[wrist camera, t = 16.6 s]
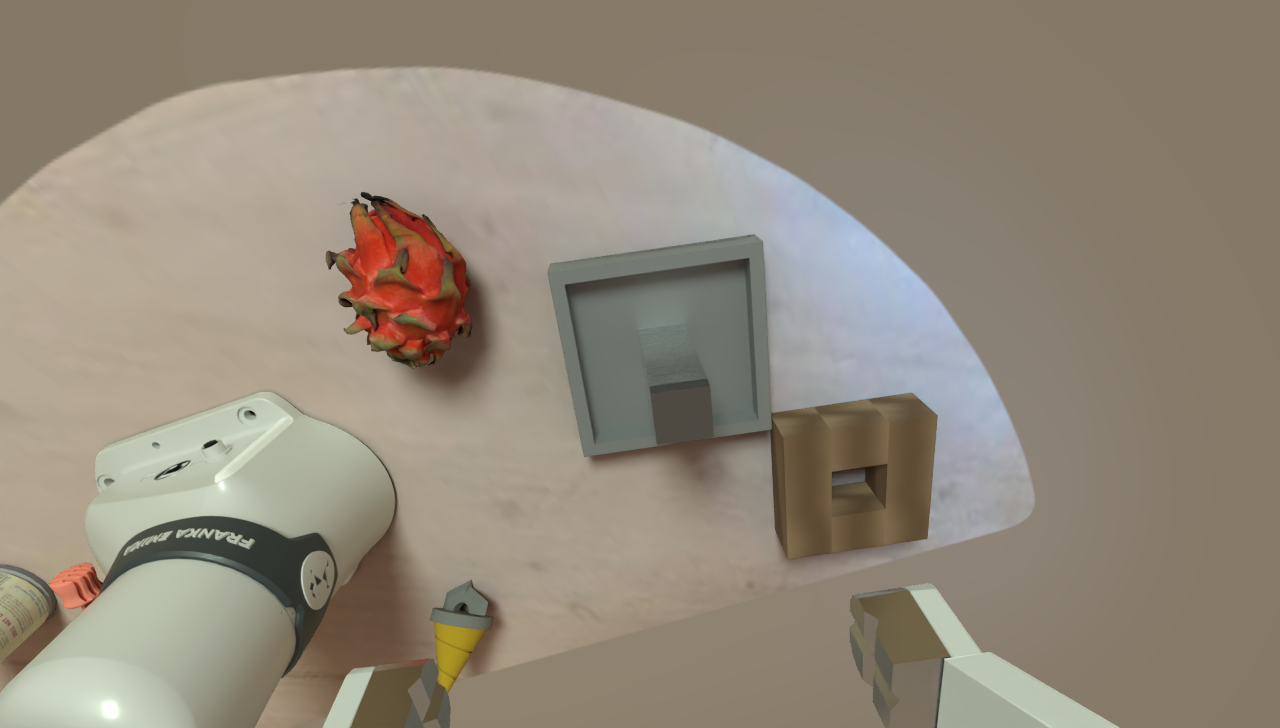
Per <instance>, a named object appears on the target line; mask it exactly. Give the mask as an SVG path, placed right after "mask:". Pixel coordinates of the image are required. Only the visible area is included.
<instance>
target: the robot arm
mask: <svg viewBox="0 0 1280 728" xmlns="http://www.w3.org/2000/svg"><path fill="white" fill-rule="evenodd" d="M249 410H251V411H253V412H254V413H255V414H256V416H254V415H252V414H251V413H250V412H249ZM95 480H96V485H97V489H98V492H99V495H98V496H97V497H96V498H95V499H94V500H93V501H92V502H91V503H90V505H89V506H88V508H87V511H86V514H85V521H84V526H85V533H86V537H87V541H88V543H89V546H90V549H91V551H92V553H93V555H94V557H95V559H96V561H97V562H98V564H99V566H100V568H101V569H102V571H103V572H104V574H105V575H106V578H105V580H104V582H103V583H102V582H100V581H99V580H98V578H97V575H96V571H95V569H94V567H93V566H92V564H90V563H83V564H78V565H75V566H73V567H70V568H69V569H67V570H64V571H62V572H61V573H60V574H59V575H57V576H55V577H54V578H53V579H54V580H51V582H50V584H51V585H49V586H50V588H51V589H52V590H53V591H54V592H55V593H56V594H57V595H58V596H60V597H61V599H62V600H63V606H64V607H65V608H68V609H73V608H78V607H80V606H81V607H82V609H83V610H84V611H83V612H82V613H81V614H79V615H78V616H77V617H76V618H75V619H74V620H73V621H72V622H71V623H70V624H69V625H68V626H67V627H66V628H65V629H64V630H63V631H62V632H61V633H60V634H59V635H58V636H57V637H56V638H55V639H54V640H53V641H52V642H51V643H50V644H48V645H47V646H46V647H45V648H44V649H43V650H42V651H41V652H40V653H39V654H38V655H37V656H36V657H35V658H34V659H33V660H32V661H31V662H30V663H29V664H28V665H27V666H26V667H25V668H24V669H23V670H22V671H21V672H19V673H18V674H17V675H16V676H15V677H14V678H13V679H12V680H11V681H10V682H9V683H8V684H7V685H6V686H5V688H4V689H3V690H2V691H1V693H0V728H255V726H256V724H257V722H258V720H259V718H260V716H261V714H262V712H263V710H264V708H265V707H266V705H267V703H268V701H269V699H270V697H271V695H272V693H273V692H274V690H275V688H276V686H277V684H278V683H279V681H280V679H281V678H282V677H284V676H285V675H286V674H287V673H288V672H290V671H291V669H292V668H293V667H294V666H295V665H296V663H297V662H298V660H299V658H300V657H301V655H302V654H303V652H304V651H305V649H306V647H307V645H308V643H309V642H310V640H311V638H312V637H313V635H314V633H315V631H316V630H317V628H318V626H319V624H320V622H321V620H322V618H323V616H324V614H325V611H326V609H327V606H328V604H329V602H330V600H331V599H332V598H333V596H334V595H335V594H336V592H337V591H338V589H339V588H340V587H341V586H343V585H345V584H347V583H348V582H349V580H350V579H351V578H352V576H353V575H354V573H355V572H356V570H357V567H358V565H359V562H360V560H361V559H362V558H363V557H364V556H365V555H366V553H367V552H368V551H369V550H370V549H371V548H372V547H373V546H374V545H375V544H376V543H377V542H378V541H379V540H380V539H381V538H382V537H383V535H384V534H385V533H386V531H387V530H388V528H389V526H390V524H391V522H392V519H393V515H394V510H395V495H394V489H393V486H392V482H391V480H390V477H389V475H388V473H387V471H386V469H385V468H384V466H383V465H382V463H381V462H380V460H379V459H378V458H377V457H376V456H375V455H374V453H373V452H372V451H371V450H370V449H369V448H367V447H366V446H365V445H364V444H363V443H362V442H360V441H359V440H358V439H356V438H355V437H353V436H352V435H350V434H348V433H346V432H345V431H343V430H341V429H339V428H337V427H334V426H332V425H329V424H327V423H324V422H321V421H318V420H315V419H313V418H310V417H308V416H306V415H304V414H302V413H301V412H300V411H299V410H297V409H296V408H295V407H294V406H292V405H291V404H290V403H288V402H287V401H286V400H284V399H283V398H281V397H279V396H278V395H276V394H273V393H270V392H260V393H256V394H253V395H251V396H248V397H245V398H242V399H239V400H236V401H233V402H230V403H227V404H225V405H222V406H219V407H216V408H213V409H210V410H207V411H204V412H202V413H199V414H196V415H193V416H190V417H187V418H184V419H181V420H179V421H176V422H173V423H170V424H167V425H164V426H161V427H158V428H155V429H153V430H150V431H147V432H144V433H141V434H138V435H135V436H132V437H130V438H127V439H124V440H121V441H118V442H115V443H113V444H110V445H108V446H106V447H105V448H104V449H103V450H102V451H100V452H99V453H98V455H97V457H96V462H95ZM850 611H851V613H852V615H853V617H854V619H855V622H854V623H853V624H852V625H851V626H850V643H851V647H852V653H853V657H854V660H855V662H856V665H857V668H858V670H859V672H860V675H861V677H862V679H863V680H864V681H865V682H867V683H868V684H870V685H871V686H872V687H873V703H874V705H875V707H876V709H877V711H878V713H879V716H880V718H881V720H882V722H883V724H884V726H885V728H1119V727H1117V726H1116V725H1114V724H1112V723H1111V722H1109V721H1107V720H1105V719H1104V718H1102V717H1100V716H1099V715H1097V714H1095V713H1093V712H1091V711H1090V710H1088V709H1087V708H1085V707H1083V706H1082V705H1080V704H1078V703H1077V702H1075V701H1073V700H1071V699H1070V698H1068V697H1066V696H1065V695H1063V694H1061V693H1059V692H1057V691H1056V690H1054V689H1053V688H1051V687H1049V686H1048V685H1046V684H1044V683H1042V682H1041V681H1039V680H1037V679H1036V678H1034V677H1032V676H1030V675H1029V674H1027V673H1025V672H1024V671H1022V670H1020V669H1019V668H1017V667H1015V666H1013V665H1012V664H1010V663H1008V662H1007V661H1005V660H1003V659H1001V658H1000V657H998V656H996V655H995V654H993V653H991V652H986V653H982V652H981V650H980V649H979V648H978V646H977V645H976V643H975V642H974V641H973V639H972V638H971V637H970V635H969V634H968V632H967V631H966V629H965V628H964V627H963V625H962V624H961V623H960V621H959V620H958V618H957V617H956V616H955V614H954V613H953V611H952V610H951V609H950V607H949V606H948V604H947V603H946V602H945V600H944V599H943V597H942V596H941V595H940V593H939V592H938V591H937V589H936V588H935V587H934V586H933V585H931V584H930V583H928V584H922V585H915V586H909V587H904V588H894V589H888V590H882V591H876V592H869V593H863V594H857V595H852V598H851V600H850ZM438 674H439V670H438V667H437V665H436V663H435V661H434V659H424V660H416V661H407V662H399V663H391V664H383V665H377V666H369V667H362V668H354V669H352V670H351V671H350V672H349V673H348V675H347V676H346V677H345V679H344V681H343V684H342V686H341V688H340V690H339V692H338V695H337V697H336V699H335V701H334V703H333V706H332V708H331V710H330V712H329V714H328V717H327V719H326V721H325V723H324V725H323V728H449V726H450V703H449V696H448V693H447V691H446V688H445V687H444V686H442V685H441V684H439V683H437V682H436V681H437V677H438Z"/></svg>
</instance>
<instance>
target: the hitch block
mask: <svg viewBox="0 0 1280 728" xmlns="http://www.w3.org/2000/svg"><path fill="white" fill-rule="evenodd" d="M937 417H938V415H936V414H935V413H934V412H933V411H932V410H931V409H930V408H929V407H928V406H926V405H925V404H924V403H923V402H922V401H921V400H920V399H919V398H917V397H916V396H915V395H914V394H913V393H907V394H900V395H894V396H887V397H880V398H873V399H866V400H859V401H853V402H846V403H839V404H832V405H825V406H818V407H812V408H805V409H798V410H791V411H784V412H777V413H771V424H772V429H771V430H770V433H771V454H772V475H773V496H774V517H775V530H776V532H777V534H778V537H779V539H780V542H781V544H782V546H783V549H784V551H785V553H786V556H787V558H788V559H794V558H801V557H807V556H814V555H821V554H828V553H835V552H841V551H848V550H855V549H862V548H868V547H875V546H882V545H889V544H895V543H902V542H909V541H916V540H922V539H927V537H928V525H929V513H930V501H931V489H932V477H933V465H934V453H935V441H936V429H937ZM861 467H866V477H865V482H859V483H852V484H845V485H838V486H832V472H834V471H841V470H848V469H855V468H861Z"/></svg>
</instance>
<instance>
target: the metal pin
mask: <svg viewBox="0 0 1280 728" xmlns="http://www.w3.org/2000/svg"><path fill="white" fill-rule="evenodd" d="M639 334H640V342H641V350H642V358H643V366H644V373H645V379H646V385H647V391H648V396H649V402H650V408H651V414H652V420H653V425H654V431H655V437H656V443H657V445H661V444H669V443H676V442H683V441H691V440H698V439H705V438H713V437H714V429H713V417H712V404H711V391H710V384H709V382H708V379H707V377H706V374H705V372H704V369H703V367H702V364H701V362H700V359H699V357H698V355H697V352H696V350H695V347H694V345H693V342H692V340H691V337H690V335H689V332H688V330H687V327H686V325H685V323H683V324H676V325H668V326H661V327H653V328H646V329H639Z"/></svg>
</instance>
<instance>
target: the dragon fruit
mask: <svg viewBox="0 0 1280 728" xmlns="http://www.w3.org/2000/svg"><path fill="white" fill-rule="evenodd" d="M361 196H362V197H363V198H365V199H367V200H370V201H372V202H371V205H372V206H373V207H374V208H375V209H374V210H371V211H370V212H368V205H367V204H363V203H362V204H360V203H359V200H358V199H354V200H355V201H353V202H351V203H353V207H352V209H351V212H350V215H351V223H352V227H353V230H354V234H355V243H356V249H353V248H349V249H348V250H345V251H342V252H340V253H339V254H336V253H334V252H331V253H330V251H327V252H326V262H327V265H328V268H329V269H331V267H332V265H334V263H335V262H336V266H337V268H338V269H339V271H340V272H342V274H344V275H345V276H346V278H347V279H348V280H349V281H350V282H351V284H352V286H353V287H352V288H351V289H350V290H349V291H347V292H343V293H341V294H340V295H339V297H338V299H339V301H338V302H339V303H340V305H342V306H343V307H353V308H354V309H355V311H356V312H357V314H356V321H355V322H354V323H353V324H351V325H350V326H349V327H348V328H347V329H345V328H344V331H345V332H346V333H347V334H351V335H352V334H355V333H358V332H360V331H362V330H365V331H366V332H368V336H367V345H369V344H371V351H376V352H379V351H385V350H386V351H387V355H388V356H389V357H390V358H391V359H392V360H393V361H397V362H401V363H403V364H406V365H408V366H410V367H411V368H413V369H415V368H416V367H417V365H416V364H415V363H418V367H422V366H423V365H425V364H427V362H428V361H429V359H430V353H432V354H433V356H434V361H433V362H431V363H430V364H433V365H434V364H435V363H436V362H437V361H438V360H439V359H440V358H441V357H442V356H443V353H444V351H445V350H450V347H451V340H452V338H453V337H454V333H455V332H456V331H457V330H459V332H458V335H459V336H461V337H463V338H469V337H470V334H471V329H472V323H471V320H470V316H469V315H468V314H467V313H466V312H465V311H464V309H463V303H464V300H465V297H466V295H467V293H468V291H470V280H469V278H468V276H467V275H466V263H465V260H464V259H463V257H462V256H461V254H460V253H459V252H458V251H457V250H456V249H455V248H454V247H453V246H452V245H451V244H450V243H449V242H448V241H447V240H446V239H445V238H444V236H443V235H442V233H440V232H439V231H438V230H437V229H436V227H435V225H434V224H433V223H432V222H431V220H430V219H429V218H428V217H427V216H425V215H424V214H423V215H422V217H423V218H424V219H423V218H421V217H420V216H418V215H416V214H414V213H412V212H409V211H408V210H406V209H404V208H402V207H401V206H400V205H398V204H397V203H396V202H394V201H392V200H390V199H388V198H384V197H381V196H373V197H372V196H371V195H370V194H369V193H366V192H361ZM381 205H382V206H381ZM348 300H349V301H348ZM350 301H351V302H353V303H351V302H350ZM414 361H415V363H414ZM430 364H428V366H429V365H430Z"/></svg>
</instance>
